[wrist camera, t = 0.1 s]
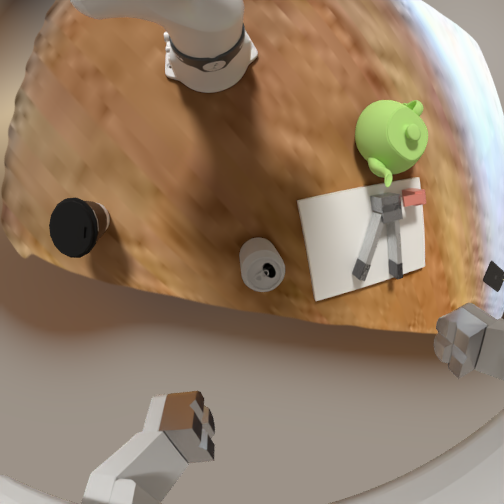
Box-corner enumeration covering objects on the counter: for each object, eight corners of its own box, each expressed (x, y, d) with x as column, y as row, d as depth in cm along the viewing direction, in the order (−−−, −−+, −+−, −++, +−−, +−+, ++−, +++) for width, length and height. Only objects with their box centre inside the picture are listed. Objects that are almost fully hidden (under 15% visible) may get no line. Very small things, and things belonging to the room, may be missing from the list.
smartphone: (492, 260, 63) (506, 274, 65) (490, 259, 63) (505, 273, 66) (483, 281, 64) (498, 292, 67) (481, 280, 65) (497, 291, 68)
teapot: (379, 202, 56) (414, 210, 43) (327, 162, 53) (354, 159, 40) (418, 127, 51) (454, 122, 39) (372, 86, 48) (404, 69, 36)
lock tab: (389, 192, 53) (403, 194, 48) (411, 187, 53) (426, 190, 48) (391, 205, 54) (405, 209, 49) (413, 200, 54) (427, 204, 49)
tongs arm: (372, 211, 54) (380, 214, 50) (377, 213, 54) (386, 216, 51) (351, 273, 57) (359, 279, 54) (357, 274, 58) (364, 281, 54)
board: (296, 200, 54) (298, 200, 53) (415, 177, 54) (419, 177, 53) (314, 298, 60) (315, 301, 59) (421, 264, 61) (424, 266, 59)
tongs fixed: (369, 195, 53) (381, 198, 49) (388, 192, 54) (400, 194, 49) (378, 276, 59) (388, 284, 54) (394, 271, 59) (405, 278, 54)
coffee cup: (123, 196, 51) (97, 202, 40) (117, 247, 54) (92, 265, 42) (80, 189, 50) (49, 194, 38) (75, 238, 52) (46, 253, 41)
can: (282, 259, 57) (295, 280, 46) (251, 278, 58) (256, 303, 46) (263, 229, 55) (272, 243, 44) (231, 249, 56) (232, 268, 44)
